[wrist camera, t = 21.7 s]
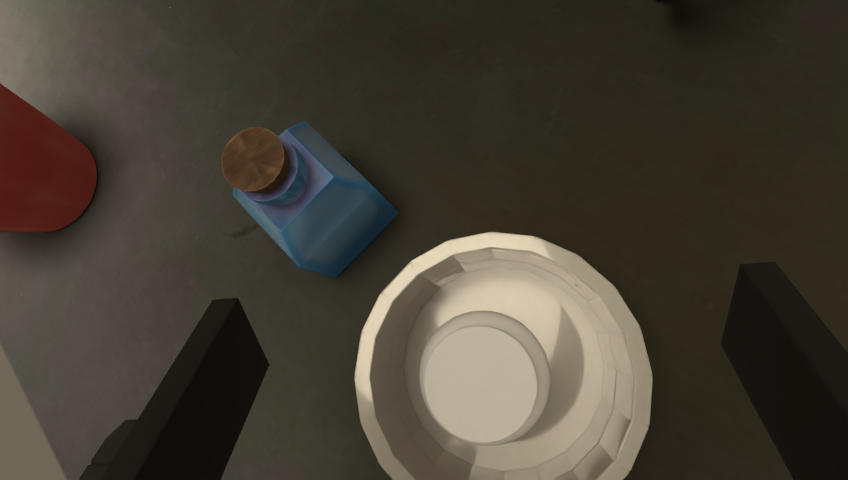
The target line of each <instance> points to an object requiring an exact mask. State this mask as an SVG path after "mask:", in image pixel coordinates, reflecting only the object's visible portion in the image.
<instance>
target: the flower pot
mask: <svg viewBox="0 0 848 480" xmlns="http://www.w3.org/2000/svg"><path fill="white" fill-rule="evenodd" d="M96 181H97V169H96V165H95V161H94V159H93V157H92V155H91V153H90V151H89V150H88V149H87V147H86V146H85V145H84V144H82V143H81V142H80V141H78V140H77V139H76V138H74V137H73V136H72V135H70V134H69V133H68V132H67V131H65V130H64V129H63V128H61V127H60V126H59V125H57V124H56V123H55V122H53V121H52V120H51V119H49V118H48V117H47V116H45V115H44V114H43V113H41V112H40V111H38V110H37V109H36V108H34V107H33V106H31V105H30V104H29V103H27V102H26V101H24V100H23V99H21V98H20V97H19V96H17V95H16V94H14V93H13V92H11V91H10V90H9V89H7V88H6V87H4V86H3V85H1V84H0V232H50V231H54V230H59V229H61V228H63V227H66V226H67V225H69V224H70V223H72V222H73V221H74V220H76V219H77V218H78V217H79V216H80V215H81V214H82V213H83V211H84V210H85V209H86V207H87V206H88V204H89V202H90V200H91V198H92V196H93V193H94V190H95V187H96Z"/></svg>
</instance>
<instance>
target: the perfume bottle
mask: <svg viewBox="0 0 848 480" xmlns="http://www.w3.org/2000/svg"><path fill="white" fill-rule="evenodd" d="M221 166H222V171H223V175H224V177H225V178H226V180H227V181H228V183H229V184H231V185H232V186H233V187H234V188H233V194H232V196H233V197H234V198H235V199H236V200H237V201H238V202H239V203H240V204H241V205H242V206H243V208H244V209H245V210H246V211H247V212H248V213H249V214H250V215H251V216H252V217H253V218H254V219H255V220H256V222H257V223H258V224H259V225H260V226H261V227H262V228H263V229H264V230H265V231H266V232H267V233H268V234H269V236H270V237H271V238H272V239H273V240H274V241H275V242H276V243H277V244H278V245H279V246H280V247H281V248H282V249H283V251H284V252H285V253H286V254H287V255H288V256H289V257H290V258H291V259H292V260H293V261H294V262H295V263H296V265H297V266H298V267H300V268H303V269H307V270H310V271H313V272H317V273H320V274H323V275H326V276H330V277H333V278H337V277H338V276H339V275H340V274H341V273H342V272H343V271H344V270H345V268H346V267H347V266H348V265H349V264H350V263H351V262H352V261H353V260H354V259H355V258H356V257H357V256H358V255H359V254H360V253H361V252H362V251H363V250H364V249H365V248H366V247H367V246H368V245H369V244H370V243H371V242H372V241H373V240H374V239H375V238H376V237H377V235H378V234H379V233H380V232H381V231H382V230H383V229H384V228H385V227H386V226H387V225H388V224H389V223H390V222H391V221H392V220H393V219H394V218H395V217H396V216H397V215H398V214H399V213H398V212H397V211H396V209H395V208H394V207H393V206H392V205H391V204H390V203H389V202H388V201H387V200H386V199H385V198H384V197H383V196H382V195H381V194H380V193H379V192H378V191H377V190H376V188H375V187H373V186H372V185H371V184H370V183H369V182H368V181H367V180H366V179H365V178H364V177H363V176H362V175H361V174H360V173H359V172H358V171H357V170H356V169H355V168H354V167H353V166H352V165H351V164H350V163H348V162H347V161H346V160H345V159H344V158H343V157H342V156H341V155H340V154H339V153H338V152H337V151H336V150H335V149H334V148H333V147H332V146H331V145H330V144H329V143H328V142H327V141H326V140H325V139H324V138H322V137H321V136H320V135H319V134H318V133H317V132H316V131H315V130H314V129H313V128H312V127H311V126H310V125H309V124H308V123H307V122H306V121H304V122H301V123H299V124H297V125H295V126H293V127H290V128H288V129H286V130H285V131H284V132H283V133H282V134H281V135H280V136H277V135H276V134H274V133H273V132H271V131H270V130H268V129H265V128H261V127H254V128H248V129H245V130H243V131H240V132H239V133H238V134H236V135H235V136H234V137H232V138H231V140H230V141H229V143H228V144H227V145H226V147H225V150H224V152H223V155H222V164H221Z"/></svg>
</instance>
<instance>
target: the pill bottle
mask: <svg viewBox="0 0 848 480" xmlns="http://www.w3.org/2000/svg"><path fill="white" fill-rule="evenodd" d="M419 380H420V388H421V393H422V397H423V400H424V402H425V405H426V407H427V409H428V411H429V413H430V414H431V416H432V417H433V418H434V420H435V421H436V422H437V423H438V424H439V425H440V427H441V428H443V429H444V430H445V431H446V432H448V433H449V434H450V435H452V436H453V437H455V438H457V439H459V440H461V441H464V442H466V443H469V444H473V445H480V446H495V445H501V444H505V443H508V442H511V441H513V440H515V439H517V438H519V437H521V436H522V435H524V434H525V433H527V432H528V431H529V430H530V429H531V428H532V427H533V426H534V425H535V424H536V422H537V421H538V420H539V418H540V417H541V415H542V413H543V411H544V410H545V407H546V405H547V402H548V399H549V394H550V388H551V376H550V368H549V363H548V360H547V357H546V354H545V352H544V350H543V348H542V346H541V344H540V343H539V341H538V340H537V338H536V337H535V336H534V334H533V333H532V332H531V331H530V330H529V329H528V328H527V327H526V326H525V325H524V324H522V323H521V322H519V321H517V320H515V319H514V318H512V317H510V316H507V315H505V314H502V313H498V312H494V311H484V310H482V311H472V312H467V313H463V314H461V315H458V316H456V317H453V318H452V319H450V320H448V321H447V322H445V323H444V324H443V325H442V326H440V327H439V328H438V329H437V330H436V331H435V333H434V334H433V335H432V337H431V338H430V339H429V341H428V343H427V345H426V347H425V349H424V351H423V355H422V358H421V362H420V370H419Z"/></svg>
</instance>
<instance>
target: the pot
mask: <svg viewBox="0 0 848 480" xmlns="http://www.w3.org/2000/svg"><path fill="white" fill-rule="evenodd" d="M482 310H484V311H494V312H498V313H502V314H505V315H507V316H510V317H512V318H514V319H515V320H517V321H519V322H521V323H522V324H524V325H525V326H526V327H527V328H528V329H529V330H530V331H531V332H532V333H533V334H534V336H535V337H536V338H537V340H538V341H539V343H540V344H541V346H542V348H543V350H544V352H545V354H546V357H547V360H548V363H549V368H550V376H551V388H550V394H549V399H548V402H547V405H546V407H545V410H544V411H543V413H542V415H541V417H540V418H539V420H538V421H537V422H536V424H535V425H534V426H533V427H532V428H531V429H530V430H529V431H528V432H527V433H525V434H524V435H522V436H521V437H519V438H517V439H515V440H513V441H511V442H508V443H505V444H501V445H495V446H480V445H473V444H469V443H466V442H464V441H461V440H459V439H457V438H455V437H453V436H452V435H450V434H449V433H448V432H446V431H445V430H444V429H443V428H441V427H440V425H439V424H438V423H437V422H436V421H435V420H434V418H433V417H432V416H431V414H430V413H429V411H428V409H427V407H426V405H425V402H424V400H423V397H422V393H421V388H420V380H419V370H420V362H421V358H422V355H423V351H424V349H425V347H426V345H427V343H428V341H429V339H430V338H431V337H432V335H433V334H434V333H435V331H436V330H437V329H438V328H439V327H440V326H442V325H443V324H444V323H445V322H447V321H448V320H450V319H452V318H453V317H456V316H458V315H461V314H463V313H467V312H472V311H482ZM652 375H653V374H652V370H651V366H650V362H649V358H648V354H647V351H646V347H645V343H644V339H643V335H642V331H641V329H640V326H639V324H638V323H637V321H636V319H635V318H634V316H633V315H632V313H631V311H630V310H629V308H628V307H627V305H626V303H625V302H624V300H623V299H622V297H621V295H620V294H619V292H618V291H617V289H616V287H615V286H613V284H612V283H610V282H609V281H608V280H607V279H606V278H605V277H603V276H602V275H601V274H600V273H599V272H598V271H596V270H595V269H594V268H593V267H592V266H591V265H589V264H588V263H587V262H586V261H585V260H584V259H582V258H581V257H580V256H577V254H575V253H573V252H571V251H568V250H566V249H564V248H561V247H559V246H557V245H554V244H552V243H550V242H547V241H545V240H543V239H540V238H538V237H535V236H528V235H519V234H509V233H500V232H486V233H481V234H476V235H471V236H467V237H462V238H457V239H452V240H448V241H446V242H444V243H442V244H440V245H438V246H437V247H435V248H433V249H431V250H429V251H428V252H426V253H424V254H422V255H420V256H419V257H417V258H415V259H413V260H412V261H410V263H408V264H407V265H406V266H405V267H404V269H403V270H402V271H401V272H400V273H399V274H398V275H397V276H396V277H395V278H394V279H393V280H392V281H391V282H390V283H389V284H388V286H387V287H386V288H385V289H384V290H383V291H382V292H381V293H380V294H379V297H378V299H377V301H376V303H375V305H374V307H373V309H372V311H371V313H370V315H369V317H368V319H367V321H366V323H365V325H364V327H363V329H362V333H361V336H360V343H359V349H358V355H357V362H356V368H355V375H354V376H355V377H354V380H355V387H356V394H357V401H358V409H359V416H360V422H361V425H362V427H363V429H364V432H365V434H366V436H367V438H368V440H369V442H370V445H371V447H372V449H373V451H374V453H375V455H376V458H377V460H378V462H379V464H380V466H381V467H382V468H383V469H384V470H385V471H386V473H387V474H388V475H389V476H390V477H391V478H392V479H393V480H623V479H624V478H625V477H626V476H627V475H628V474H629V471H631V469H632V467H633V464H634V462H635V459H636V457H637V455H638V452H639V450H640V448H641V445H642V443H643V441H644V438H645V436H646V434H647V431H648V429H649V425H650V413H651V399H652V384H653V377H652Z"/></svg>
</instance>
